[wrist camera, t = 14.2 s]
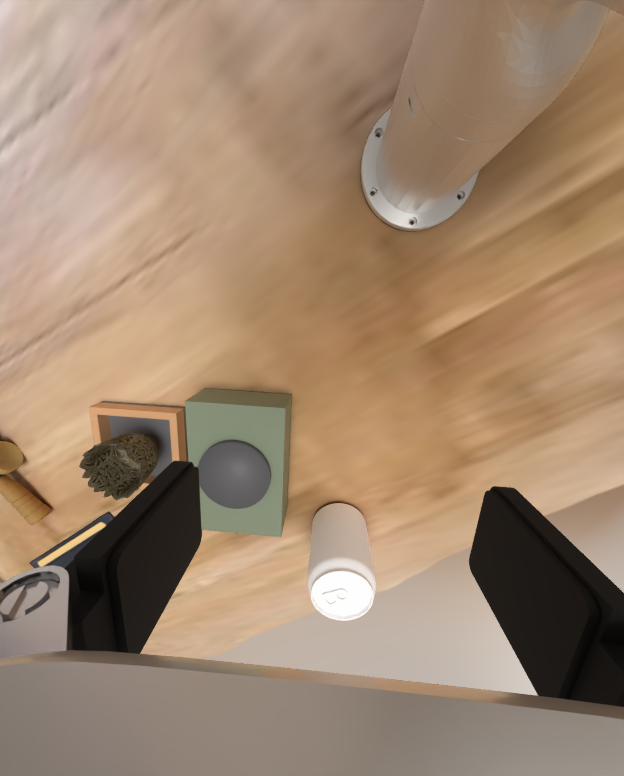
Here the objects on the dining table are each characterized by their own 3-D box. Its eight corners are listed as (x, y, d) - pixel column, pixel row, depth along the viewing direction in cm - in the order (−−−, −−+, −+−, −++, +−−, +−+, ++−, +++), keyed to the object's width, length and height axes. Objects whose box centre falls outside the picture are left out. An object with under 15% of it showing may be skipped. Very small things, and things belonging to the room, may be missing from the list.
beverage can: (374, 534, 45) (389, 611, 34) (327, 552, 47) (326, 632, 35) (351, 492, 44) (359, 557, 32) (303, 512, 45) (293, 582, 33)
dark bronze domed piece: (148, 475, 44) (109, 510, 37) (114, 437, 43) (66, 465, 35) (184, 450, 43) (152, 481, 35) (150, 410, 42) (109, 433, 34)
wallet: (81, 627, 52) (19, 566, 49) (89, 616, 54) (30, 556, 51) (166, 584, 49) (105, 515, 46) (172, 574, 50) (113, 507, 48)
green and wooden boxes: (100, 380, 41) (55, 394, 35) (291, 394, 40) (284, 411, 34) (115, 492, 46) (78, 524, 39) (287, 507, 45) (279, 542, 38)
